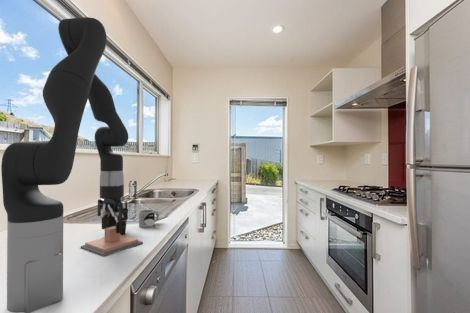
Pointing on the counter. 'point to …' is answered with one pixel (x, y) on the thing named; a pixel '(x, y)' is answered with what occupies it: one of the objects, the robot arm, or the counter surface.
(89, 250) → the mat
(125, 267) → the counter surface
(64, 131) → the robot arm
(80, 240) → the counter surface
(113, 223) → the coffee mug
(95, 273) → the counter surface
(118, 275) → the counter surface
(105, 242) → the lid
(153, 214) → the mug
